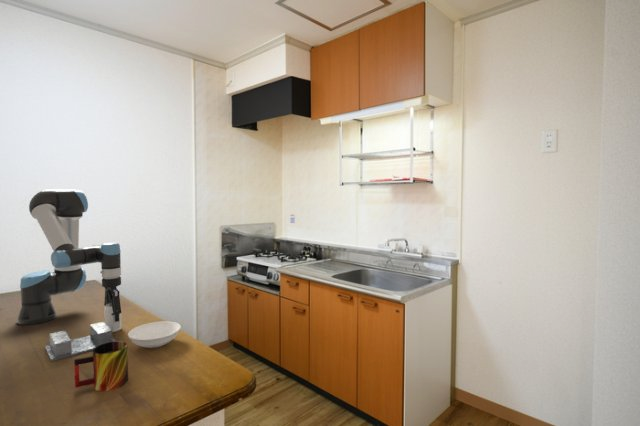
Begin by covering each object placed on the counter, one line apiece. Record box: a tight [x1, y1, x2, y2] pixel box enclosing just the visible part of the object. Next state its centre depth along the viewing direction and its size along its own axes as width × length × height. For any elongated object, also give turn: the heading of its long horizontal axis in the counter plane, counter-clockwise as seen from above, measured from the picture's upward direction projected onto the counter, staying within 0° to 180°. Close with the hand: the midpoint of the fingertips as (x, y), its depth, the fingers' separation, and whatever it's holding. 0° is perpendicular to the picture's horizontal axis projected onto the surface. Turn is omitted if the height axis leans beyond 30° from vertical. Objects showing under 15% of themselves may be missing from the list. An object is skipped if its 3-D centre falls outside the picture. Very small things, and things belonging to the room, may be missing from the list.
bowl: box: [127, 320, 182, 349], centre depth 145 cm, size 20×20×6 cm
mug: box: [73, 340, 129, 392], centre depth 114 cm, size 10×14×12 cm
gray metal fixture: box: [44, 321, 117, 362], centre depth 144 cm, size 16×22×6 cm
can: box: [103, 303, 122, 333], centre depth 161 cm, size 6×6×12 cm
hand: (113, 324), depth 161 cm, fingers open, 10 cm apart
